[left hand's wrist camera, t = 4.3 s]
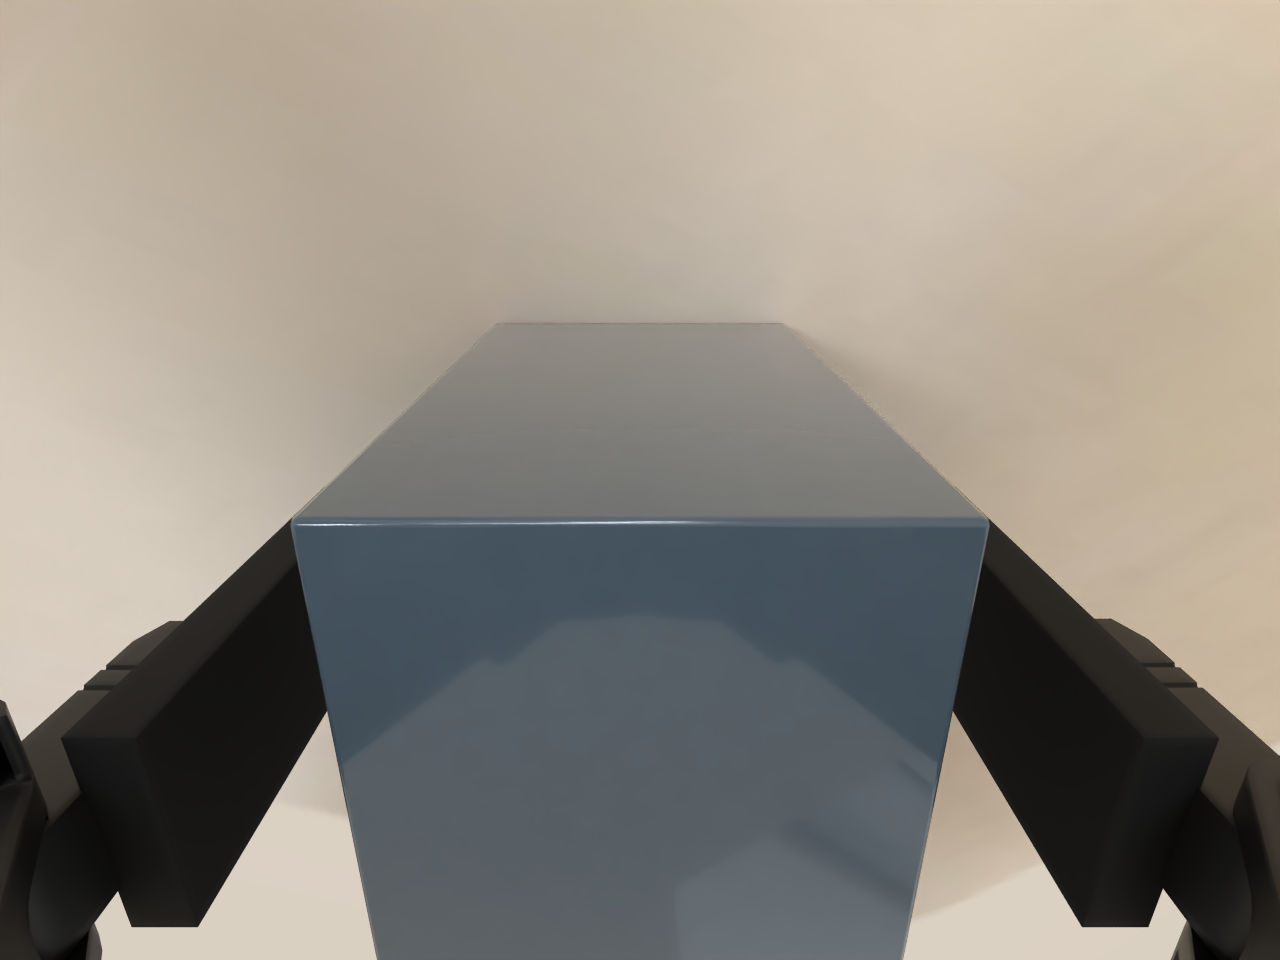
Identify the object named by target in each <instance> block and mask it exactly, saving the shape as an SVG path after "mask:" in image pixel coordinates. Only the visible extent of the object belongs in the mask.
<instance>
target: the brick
mask: <svg viewBox="0 0 1280 960" xmlns="http://www.w3.org/2000/svg"><path fill="white" fill-rule="evenodd" d="M291 532H292V537H293V542H294V547H295V552H296V557H297V562H298V567H299V572H300V577H301V582H302V587H303V592H304V597H305V602H306V607H307V612H308V617H309V622H310V627H311V632H312V637H313V642H314V647H315V652H316V657H317V662H318V667H319V672H320V677H321V682H322V687H323V692H324V697H325V702H326V707H327V712H328V717H329V722H330V727H331V732H332V737H333V742H334V747H335V752H336V757H337V762H338V767H339V772H340V777H341V782H342V787H343V792H344V797H345V802H346V807H347V812H348V817H349V822H350V827H351V832H352V837H353V842H354V847H355V852H356V857H357V862H358V867H359V872H360V876H361V882H362V887H363V892H364V897H365V902H366V907H367V912H368V917H369V922H370V927H371V932H372V937H373V942H374V947H375V952H376V956H377V960H903V957H904V952H905V947H906V942H907V937H908V932H909V927H910V922H911V917H912V912H913V907H914V902H915V897H916V892H917V887H918V882H919V877H920V872H921V867H922V862H923V857H924V852H925V847H926V842H927V837H928V832H929V827H930V822H931V817H932V812H933V807H934V802H935V797H936V792H937V787H938V782H939V777H940V772H941V767H942V762H943V757H944V752H945V747H946V742H947V737H948V732H949V727H950V722H951V717H952V712H953V707H954V702H955V697H956V692H957V687H958V682H959V677H960V672H961V667H962V662H963V657H964V652H965V647H966V642H967V637H968V632H969V627H970V622H971V617H972V612H973V607H974V602H975V597H976V592H977V587H978V582H979V577H980V572H981V567H982V562H983V557H984V552H985V547H986V542H987V537H988V532H989V521H988V518H987V517H986V516H985V515H984V514H983V513H982V512H981V511H980V510H979V509H978V508H977V507H976V506H975V505H973V504H972V503H971V502H970V501H969V500H968V499H967V498H966V497H965V496H964V495H963V494H962V493H961V492H960V491H959V490H958V489H957V488H956V487H955V486H954V485H952V484H951V483H950V482H949V481H948V480H947V479H946V478H945V477H944V476H943V475H942V474H941V473H940V472H939V471H938V470H937V469H936V468H935V467H934V466H933V465H931V464H930V463H929V462H928V461H927V460H926V459H925V458H924V457H923V456H922V455H921V454H920V453H919V452H918V451H917V450H916V449H915V448H914V447H913V446H912V445H910V444H909V443H908V442H907V441H906V440H905V439H904V438H903V437H902V436H901V435H900V434H899V433H898V432H897V431H896V430H895V429H894V428H893V427H892V426H891V425H889V424H888V423H887V422H886V421H885V420H884V419H883V418H882V417H881V416H880V415H879V414H878V413H877V412H876V411H875V410H874V409H873V408H872V407H871V406H870V405H869V404H867V403H866V402H865V401H864V400H863V399H862V398H861V397H860V396H859V395H858V394H857V393H856V392H855V391H854V390H853V389H852V388H851V387H850V386H849V385H848V384H846V383H845V382H844V381H843V380H842V379H841V378H840V377H839V376H838V375H837V374H836V373H835V372H834V371H833V370H832V369H831V368H830V367H829V366H828V365H827V364H825V363H824V362H823V361H822V360H821V359H820V358H819V357H818V356H817V355H816V354H815V353H814V352H813V351H812V350H811V349H810V348H809V347H808V346H807V345H806V344H804V343H803V342H802V341H801V340H800V339H799V338H798V337H797V336H796V335H795V334H794V333H793V332H792V331H791V330H790V329H789V328H788V327H787V326H786V325H784V324H782V323H498V324H496V325H494V326H493V327H492V328H491V329H490V330H489V331H488V332H487V333H486V334H485V335H484V336H483V337H482V338H481V339H480V340H479V341H478V342H476V343H475V344H474V345H473V346H472V347H471V348H470V349H469V350H468V351H467V352H466V353H465V354H464V355H463V356H462V357H461V358H460V359H459V360H458V361H457V362H456V363H454V364H453V365H452V366H451V367H450V368H449V369H448V370H447V371H446V372H445V373H444V374H443V375H442V376H441V377H440V378H439V379H438V380H437V381H436V382H435V383H433V384H432V385H431V386H430V387H429V388H428V389H427V390H426V391H425V392H424V393H423V394H422V395H421V396H420V397H419V398H418V399H417V400H416V401H415V402H414V403H413V404H411V405H410V406H409V407H408V408H407V409H406V410H405V411H404V412H403V413H402V414H401V415H400V416H399V417H398V418H397V419H396V420H395V421H394V422H393V423H392V424H390V425H389V426H388V427H387V428H386V429H385V430H384V431H383V432H382V433H381V434H380V435H379V436H378V437H377V438H376V439H375V440H374V441H373V442H372V443H371V444H370V445H368V446H367V447H366V448H365V449H364V450H363V451H362V452H361V453H360V454H359V455H358V456H357V457H356V458H355V459H354V460H353V461H352V462H351V463H350V464H349V465H347V466H346V467H345V468H344V469H343V470H342V471H341V472H340V473H339V474H338V475H337V476H336V477H335V478H334V479H333V480H332V481H331V482H330V483H329V484H328V485H326V486H325V487H324V488H323V489H322V490H321V491H320V492H319V493H318V494H317V495H316V496H315V497H314V498H313V499H312V500H311V501H310V502H309V503H308V504H307V505H306V506H304V507H303V508H302V509H301V510H300V511H299V512H298V513H297V514H296V515H295V516H294V517H293V518H292V521H291Z"/></svg>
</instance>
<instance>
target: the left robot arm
mask: <svg viewBox="0 0 1280 960" xmlns="http://www.w3.org/2000/svg"><path fill="white" fill-rule="evenodd" d="M314 497H315V496H314ZM314 497H313V498H314ZM965 497H966V496H965ZM313 498H312V499H313ZM966 498H967V497H966ZM312 499H311V500H312ZM967 499H968V498H967ZM311 500H310V501H311ZM968 500H969V499H968ZM310 501H309V502H310ZM969 501H970V500H969ZM309 502H308V503H309ZM970 502H971V501H970ZM308 503H307V504H308ZM971 503H972V502H971ZM307 504H306V505H307ZM972 504H973V503H972ZM306 505H305V506H306ZM973 505H974V504H973ZM294 516H295V515H294ZM294 516H293V517H294ZM985 516H986V515H985ZM293 517H292V518H293ZM986 517H987V516H986ZM292 518H291V519H290V520H289V521H288V522H287V523H286V524H285V525H284V526H283V527H282V528H281V529H280V530H279V531H278V532H277V533H276V534H274V535H273V536H272V537H271V538H270V539H269V540H268V541H267V542H266V543H265V544H264V545H263V546H262V547H261V548H260V549H259V550H258V551H257V552H256V553H255V554H253V555H252V556H251V557H250V558H249V559H248V560H247V561H246V562H245V563H244V564H243V565H242V566H241V567H240V568H239V569H238V570H237V571H236V572H235V573H233V574H232V575H231V576H230V577H229V578H228V579H227V580H226V581H225V582H224V583H223V584H222V585H221V586H220V587H219V588H218V589H217V590H216V591H215V592H213V593H212V594H211V595H210V596H209V597H208V598H207V599H206V600H205V601H204V602H203V603H202V604H201V605H200V606H199V607H198V608H197V609H196V610H195V611H194V612H192V613H191V614H190V615H189V616H188V617H187V618H186V619H185V620H184V621H169V622H167V623H165V624H164V625H162V626H160V627H158V628H156V629H154V630H153V631H151V632H149V633H147V634H145V635H144V636H142V637H140V638H138V639H136V640H135V641H133V642H132V643H131V644H130V645H128V646H127V647H126V648H125V649H124V650H123V651H122V652H121V653H119V654H118V655H117V656H116V657H115V658H114V659H113V660H112V661H111V662H109V663H108V664H107V665H106V670H101V671H99V672H98V673H97V674H96V675H95V676H94V677H93V678H92V679H90V680H89V681H88V682H87V683H86V684H85V685H84V690H78V691H77V692H76V693H75V694H74V695H73V696H71V697H70V698H69V699H68V700H67V701H66V702H65V703H64V704H63V705H61V706H60V707H59V708H58V709H57V710H56V711H55V712H54V713H53V714H51V715H50V716H49V717H48V718H47V719H46V720H45V721H44V722H42V723H41V724H40V725H39V726H38V727H37V728H36V729H35V730H34V731H32V732H31V733H30V734H29V735H28V736H27V737H26V738H25V739H24V740H22V741H21V740H20V738H19V735H18V733H17V730H16V728H15V725H14V723H13V720H12V718H11V715H10V713H9V710H8V708H7V705H6V703H5V702H4V701H2V700H0V960H101V957H102V947H101V942H100V937H99V934H98V931H97V929H96V926H95V924H94V922H95V921H96V920H97V918H98V917H99V916H100V914H101V913H102V912H103V910H104V909H105V908H106V906H107V905H108V904H109V902H110V901H111V900H112V898H113V897H114V895H115V894H116V893H117V891H118V892H119V895H120V897H121V900H122V903H123V905H124V908H125V911H126V913H127V916H128V919H129V921H130V924H131V926H132V927H198V926H199V924H200V923H201V921H202V919H203V918H204V916H205V914H206V913H207V911H208V909H209V908H210V906H211V904H212V903H213V901H214V899H215V898H216V896H217V894H218V893H219V891H220V889H221V888H222V886H223V884H224V882H225V881H226V879H227V877H228V876H229V874H230V873H231V871H232V869H233V867H234V866H235V864H236V862H237V861H238V859H239V857H240V856H241V854H242V852H243V851H244V849H245V847H246V846H247V844H248V842H249V841H250V839H251V837H252V836H253V834H254V832H255V831H256V829H257V827H258V826H259V824H260V822H261V821H262V819H263V817H264V816H265V814H266V812H267V811H268V809H269V807H270V806H271V804H272V802H273V801H274V799H275V797H276V795H277V794H278V792H279V790H280V789H281V787H282V785H283V784H284V782H285V780H286V779H287V777H288V775H289V774H290V772H291V770H292V769H293V767H294V765H295V764H296V762H297V760H298V759H299V757H300V755H301V754H302V752H303V750H304V749H305V747H306V745H307V744H308V742H309V740H310V739H311V737H312V735H313V734H314V732H315V730H316V729H317V727H318V725H319V724H320V722H321V720H322V718H323V717H324V715H325V713H326V712H327V707H326V702H325V697H324V692H323V687H322V682H321V677H320V672H319V667H318V662H317V657H316V652H315V647H314V642H313V637H312V632H311V627H310V622H309V617H308V612H307V607H306V602H305V597H304V592H303V587H302V582H301V577H300V572H299V567H298V562H297V557H296V552H295V547H294V542H293V537H292V532H291V521H292ZM987 518H988V517H987ZM988 521H989V532H988V537H987V542H986V547H985V552H984V557H983V562H982V567H981V572H980V577H979V582H978V587H977V592H976V597H975V602H974V607H973V612H972V617H971V622H970V627H969V632H968V637H967V642H966V647H965V652H964V657H963V662H962V667H961V672H960V677H959V682H958V687H957V692H956V697H955V702H954V707H953V712H954V713H955V715H956V717H957V719H958V720H959V722H960V724H961V725H962V727H963V729H964V730H965V732H966V734H967V735H968V737H969V739H970V740H971V742H972V744H973V745H974V747H975V749H976V750H977V752H978V754H979V755H980V757H981V759H982V760H983V762H984V764H985V765H986V767H987V769H988V770H989V772H990V774H991V775H992V777H993V779H994V780H995V782H996V784H997V785H998V787H999V789H1000V791H1001V792H1002V794H1003V796H1004V797H1005V799H1006V801H1007V802H1008V804H1009V806H1010V807H1011V809H1012V811H1013V812H1014V814H1015V816H1016V817H1017V819H1018V821H1019V822H1020V824H1021V826H1022V827H1023V829H1024V831H1025V832H1026V834H1027V836H1028V837H1029V839H1030V841H1031V842H1032V844H1033V846H1034V847H1035V849H1036V851H1037V852H1038V854H1039V856H1040V857H1041V859H1042V861H1043V862H1044V864H1045V866H1046V868H1047V869H1048V871H1049V872H1050V874H1051V876H1052V877H1053V879H1054V881H1055V883H1056V884H1057V886H1058V888H1059V889H1060V891H1061V893H1062V894H1063V896H1064V898H1065V899H1066V901H1067V903H1068V904H1069V906H1070V908H1071V909H1072V911H1073V913H1074V914H1075V916H1076V918H1077V919H1078V921H1079V923H1080V924H1081V926H1082V927H1149V924H1150V921H1151V919H1152V916H1153V913H1154V911H1155V908H1156V905H1157V903H1158V900H1159V897H1160V895H1161V892H1162V889H1164V890H1165V892H1166V893H1167V894H1168V896H1169V897H1170V898H1171V900H1172V901H1173V902H1174V904H1175V905H1176V906H1177V908H1178V909H1179V910H1180V912H1181V913H1182V914H1183V916H1184V917H1185V918H1186V920H1187V921H1186V924H1185V926H1184V929H1183V931H1182V933H1181V936H1180V938H1179V941H1178V943H1177V946H1176V948H1175V951H1174V953H1173V956H1172V958H1171V960H1280V756H1279V755H1278V754H1277V753H1275V752H1274V751H1273V750H1272V749H1271V748H1270V747H1269V746H1268V745H1266V744H1265V743H1264V742H1263V741H1262V740H1261V739H1260V738H1259V737H1257V736H1256V735H1255V734H1254V733H1253V732H1252V731H1251V730H1250V729H1248V728H1247V727H1246V726H1245V725H1244V724H1243V723H1242V722H1241V721H1239V720H1238V719H1237V718H1236V717H1235V716H1234V715H1233V714H1232V713H1230V712H1229V711H1228V710H1227V709H1226V708H1225V707H1224V706H1223V705H1221V704H1220V703H1219V702H1218V701H1217V700H1216V699H1215V698H1214V697H1212V696H1211V695H1210V694H1209V693H1208V692H1207V691H1206V690H1205V689H1203V688H1198V687H1197V682H1196V681H1194V680H1193V679H1192V678H1191V677H1190V676H1189V675H1188V674H1187V673H1186V672H1184V671H1183V670H1182V669H1181V668H1180V667H1175V665H1174V662H1173V661H1172V660H1171V659H1170V658H1169V657H1168V656H1166V655H1165V654H1164V653H1163V652H1162V651H1161V650H1160V649H1159V648H1157V647H1156V646H1155V645H1154V644H1153V643H1152V642H1151V641H1150V640H1148V639H1147V638H1145V637H1143V636H1142V635H1140V634H1138V633H1136V632H1134V631H1132V630H1131V629H1129V628H1127V627H1125V626H1123V625H1122V624H1120V623H1118V622H1116V621H1114V620H1112V619H1094V618H1093V617H1092V616H1091V615H1090V614H1089V613H1088V612H1086V611H1085V610H1084V609H1083V608H1082V607H1081V606H1080V605H1079V604H1078V603H1077V602H1076V601H1075V600H1074V599H1073V598H1072V597H1071V596H1070V595H1069V594H1068V593H1066V592H1065V591H1064V590H1063V589H1062V588H1061V587H1060V586H1059V585H1058V584H1057V583H1056V582H1055V581H1054V580H1053V579H1052V578H1051V577H1050V576H1049V575H1048V574H1047V573H1045V572H1044V571H1043V570H1042V569H1041V568H1040V567H1039V566H1038V565H1037V564H1036V563H1035V562H1034V561H1033V560H1032V559H1031V558H1030V557H1029V556H1028V555H1027V554H1025V553H1024V552H1023V551H1022V550H1021V549H1020V548H1019V547H1018V546H1017V545H1016V544H1015V543H1014V542H1013V541H1012V540H1011V539H1010V538H1009V537H1008V536H1007V535H1005V534H1004V533H1003V532H1002V531H1001V530H1000V529H999V528H998V527H997V526H996V525H995V524H994V523H993V522H992V521H991V520H990V519H989V518H988Z"/></svg>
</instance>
